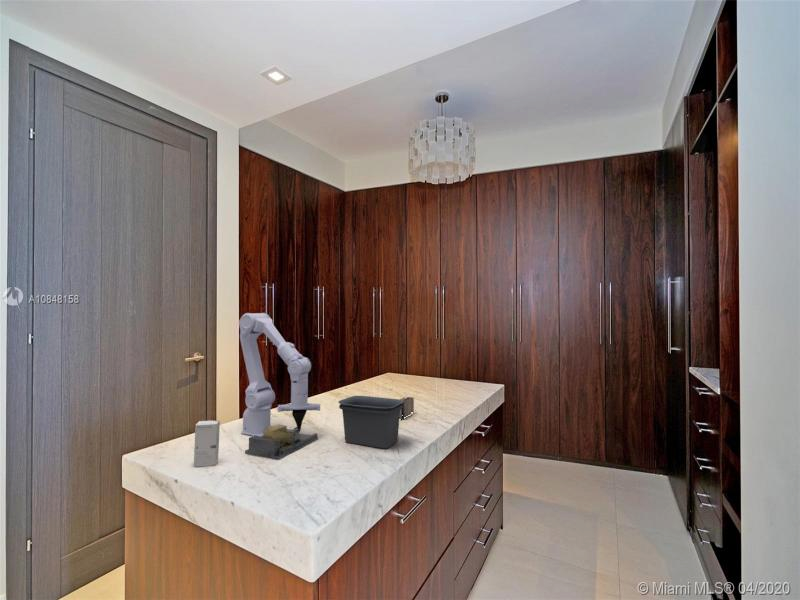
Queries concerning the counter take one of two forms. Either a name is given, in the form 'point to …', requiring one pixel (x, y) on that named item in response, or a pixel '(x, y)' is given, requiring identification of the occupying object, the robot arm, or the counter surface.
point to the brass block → (276, 433)
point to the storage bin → (371, 420)
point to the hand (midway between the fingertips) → (299, 431)
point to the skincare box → (206, 443)
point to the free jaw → (293, 436)
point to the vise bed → (276, 446)
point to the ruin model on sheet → (407, 407)
